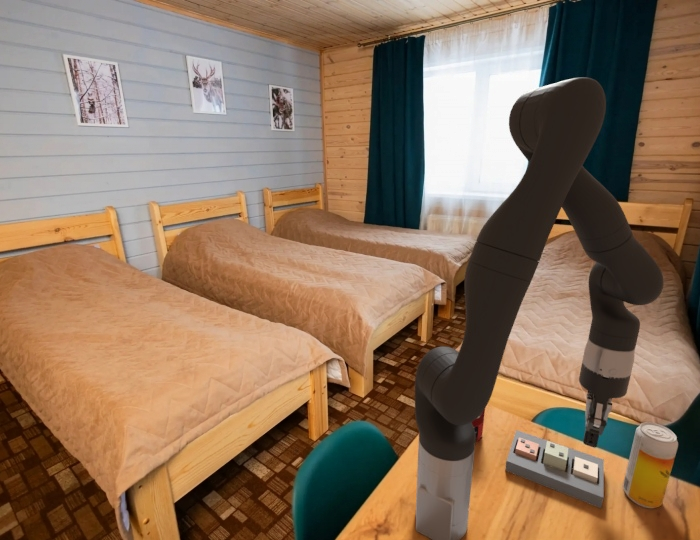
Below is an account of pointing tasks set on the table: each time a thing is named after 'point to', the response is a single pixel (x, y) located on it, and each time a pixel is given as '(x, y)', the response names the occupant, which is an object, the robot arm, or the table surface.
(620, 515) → the table surface
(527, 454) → the tile three terracotta
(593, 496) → the slate board
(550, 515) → the table surface
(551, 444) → the tile two sage
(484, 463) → the table surface
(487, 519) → the table surface
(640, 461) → the beer can
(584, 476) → the tile one cream
